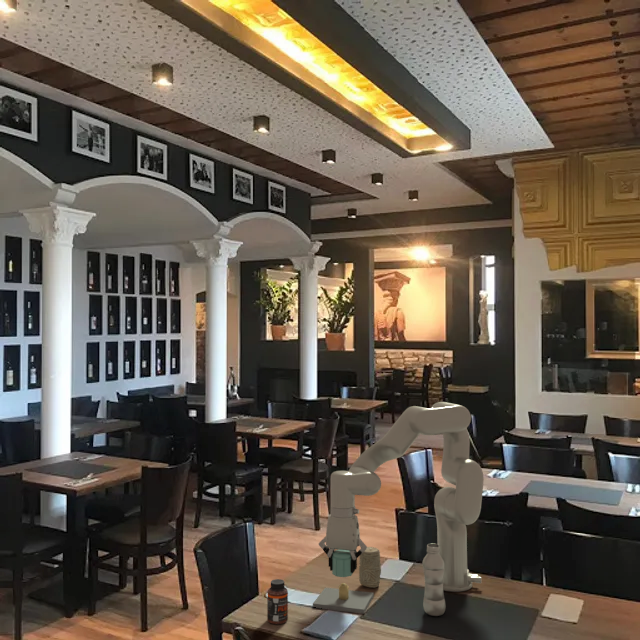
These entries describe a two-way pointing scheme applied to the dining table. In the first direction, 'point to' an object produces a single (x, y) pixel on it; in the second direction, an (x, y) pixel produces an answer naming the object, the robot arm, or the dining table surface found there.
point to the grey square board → (343, 599)
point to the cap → (341, 563)
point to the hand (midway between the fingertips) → (342, 569)
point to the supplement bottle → (277, 602)
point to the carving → (370, 567)
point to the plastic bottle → (433, 581)
